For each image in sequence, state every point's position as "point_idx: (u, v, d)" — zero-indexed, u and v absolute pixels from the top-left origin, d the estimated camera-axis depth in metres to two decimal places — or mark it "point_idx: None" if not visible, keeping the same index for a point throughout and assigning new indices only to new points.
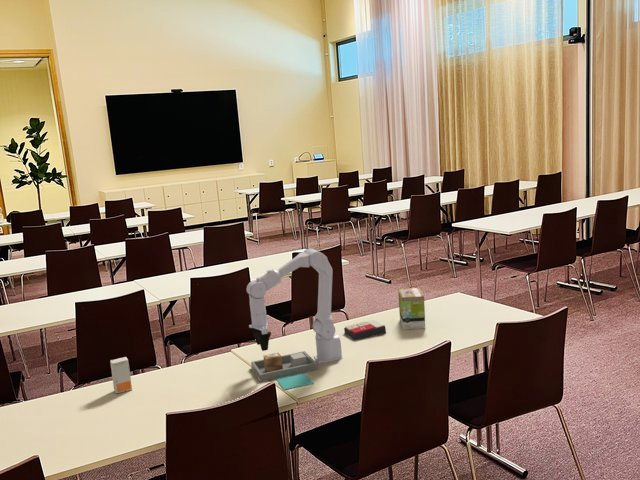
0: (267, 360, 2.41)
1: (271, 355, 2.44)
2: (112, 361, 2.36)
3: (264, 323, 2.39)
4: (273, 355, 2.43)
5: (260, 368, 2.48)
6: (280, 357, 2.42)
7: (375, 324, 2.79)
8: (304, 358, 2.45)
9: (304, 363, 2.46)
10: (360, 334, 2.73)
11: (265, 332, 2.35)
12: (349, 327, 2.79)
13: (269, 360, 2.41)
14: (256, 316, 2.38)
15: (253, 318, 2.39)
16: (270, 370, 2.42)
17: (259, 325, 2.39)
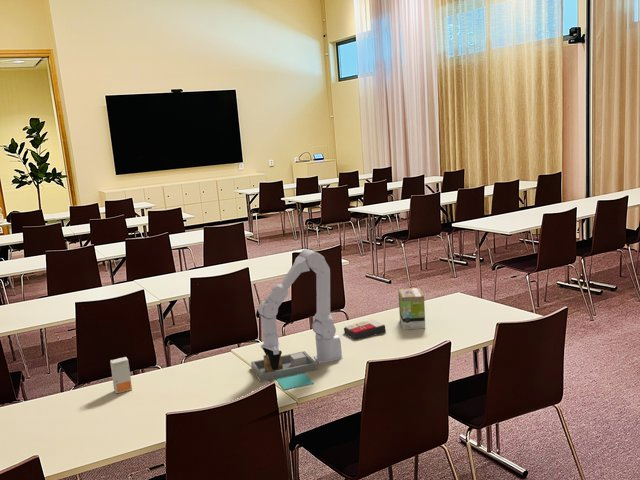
0: (267, 360, 2.41)
1: None
2: (112, 361, 2.36)
3: (276, 343, 2.41)
4: None
5: (260, 368, 2.48)
6: (280, 357, 2.42)
7: (375, 324, 2.80)
8: (304, 358, 2.45)
9: (304, 363, 2.46)
10: (360, 334, 2.73)
11: (277, 352, 2.36)
12: (349, 327, 2.80)
13: (269, 360, 2.41)
14: (268, 336, 2.39)
15: (265, 338, 2.40)
16: (270, 370, 2.42)
17: (271, 345, 2.40)
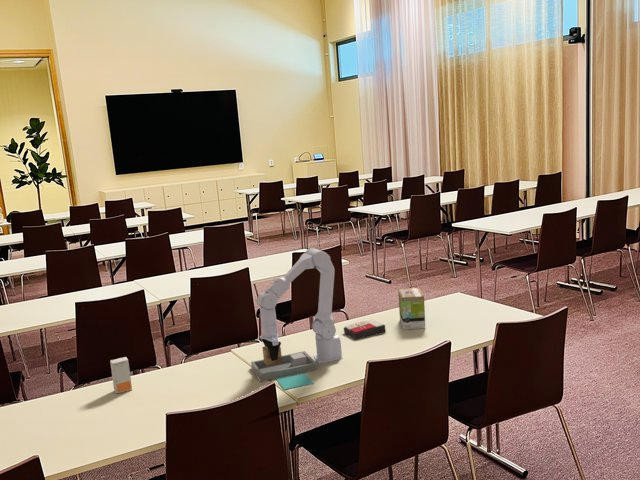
0: (266, 351, 2.40)
1: None
2: (112, 361, 2.36)
3: (275, 334, 2.40)
4: None
5: (260, 368, 2.48)
6: (279, 348, 2.42)
7: (375, 323, 2.80)
8: (304, 358, 2.45)
9: (304, 363, 2.46)
10: (360, 333, 2.73)
11: (276, 343, 2.36)
12: (349, 327, 2.80)
13: (268, 351, 2.40)
14: (267, 327, 2.39)
15: (264, 329, 2.40)
16: (269, 361, 2.41)
17: (270, 336, 2.39)
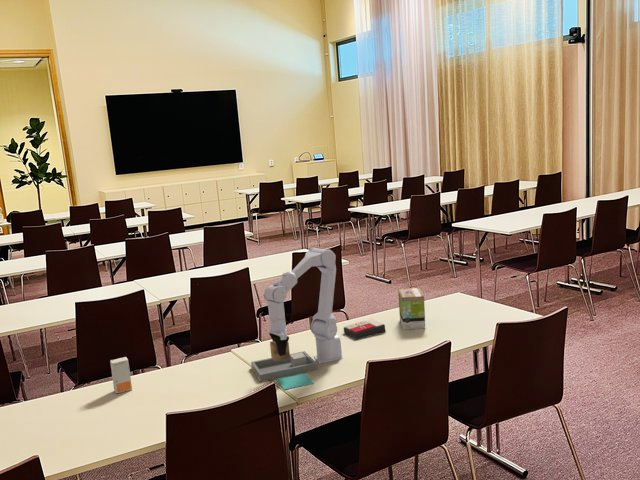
0: (274, 346, 2.34)
1: None
2: (112, 361, 2.36)
3: (283, 328, 2.34)
4: None
5: (260, 368, 2.48)
6: (287, 343, 2.36)
7: (374, 323, 2.81)
8: (304, 358, 2.45)
9: (304, 363, 2.46)
10: (360, 333, 2.74)
11: (284, 338, 2.30)
12: (349, 327, 2.80)
13: (276, 346, 2.34)
14: (275, 321, 2.33)
15: (272, 323, 2.34)
16: (277, 357, 2.35)
17: (278, 330, 2.33)
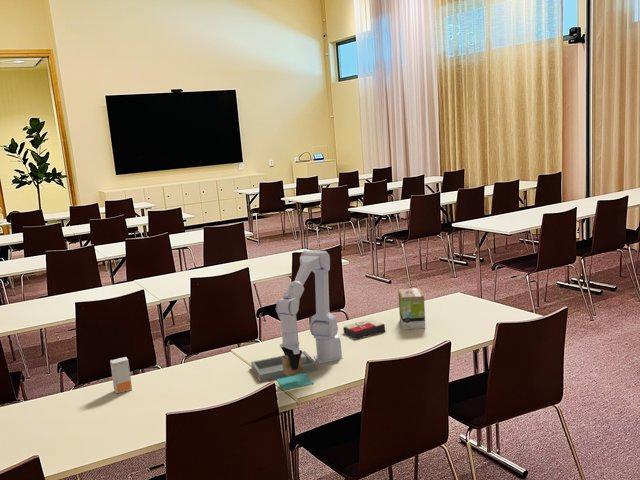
0: (286, 361, 2.28)
1: None
2: (112, 361, 2.36)
3: (295, 342, 2.28)
4: None
5: (260, 368, 2.48)
6: (300, 357, 2.30)
7: (374, 323, 2.81)
8: (304, 358, 2.45)
9: (304, 363, 2.46)
10: (361, 333, 2.74)
11: (297, 352, 2.24)
12: (348, 326, 2.80)
13: (288, 361, 2.28)
14: (287, 335, 2.27)
15: (284, 337, 2.28)
16: (289, 371, 2.29)
17: (290, 344, 2.27)
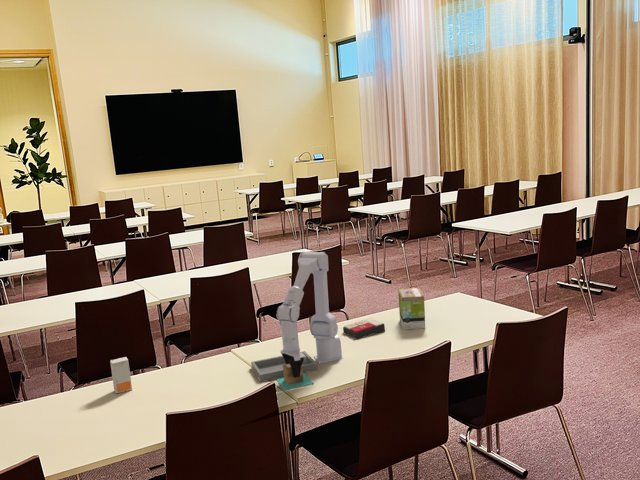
0: (287, 370, 2.29)
1: None
2: (112, 361, 2.36)
3: (296, 348, 2.29)
4: None
5: (260, 368, 2.48)
6: None
7: (374, 322, 2.82)
8: (304, 358, 2.45)
9: (304, 363, 2.46)
10: (361, 333, 2.74)
11: (298, 358, 2.24)
12: (348, 326, 2.81)
13: (289, 370, 2.29)
14: (288, 341, 2.27)
15: (285, 343, 2.28)
16: (290, 380, 2.30)
17: (291, 351, 2.28)
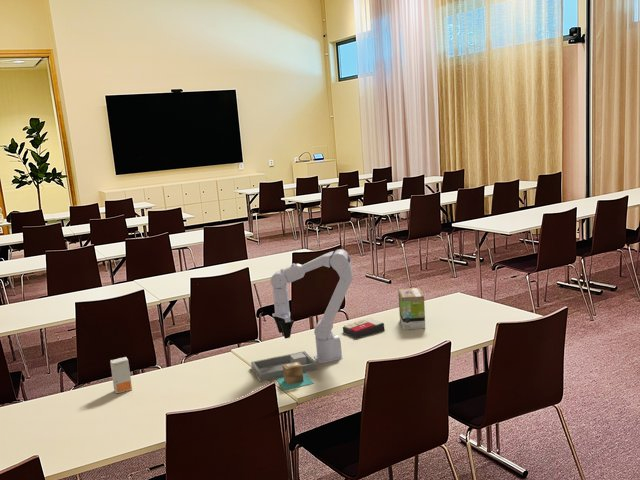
0: (287, 370, 2.29)
1: (291, 364, 2.32)
2: (112, 361, 2.36)
3: (287, 312, 2.50)
4: (293, 364, 2.31)
5: (260, 368, 2.48)
6: (300, 367, 2.30)
7: (373, 322, 2.82)
8: (304, 358, 2.45)
9: (304, 363, 2.46)
10: (361, 332, 2.75)
11: (288, 320, 2.46)
12: (348, 326, 2.81)
13: (289, 370, 2.29)
14: (279, 305, 2.49)
15: (276, 307, 2.50)
16: (290, 380, 2.30)
17: (282, 314, 2.49)
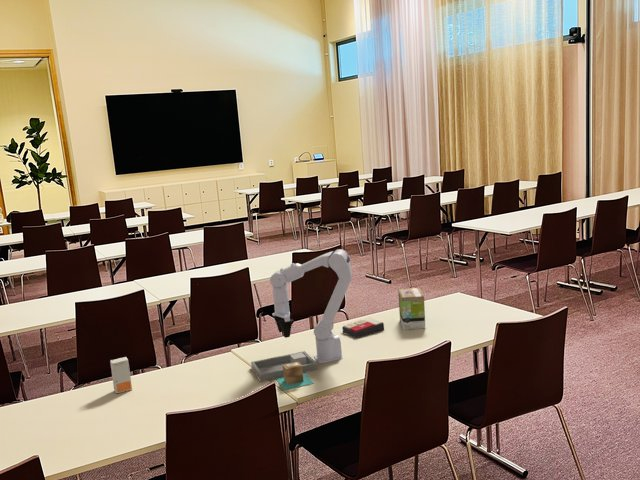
0: (287, 370, 2.29)
1: (291, 364, 2.32)
2: (112, 361, 2.36)
3: (286, 311, 2.51)
4: (293, 364, 2.31)
5: (260, 368, 2.48)
6: (300, 367, 2.30)
7: (373, 321, 2.83)
8: (304, 358, 2.45)
9: (304, 363, 2.46)
10: (361, 332, 2.75)
11: (288, 319, 2.47)
12: (348, 326, 2.81)
13: (289, 370, 2.29)
14: (279, 304, 2.50)
15: (276, 306, 2.50)
16: (290, 380, 2.30)
17: (282, 313, 2.50)
